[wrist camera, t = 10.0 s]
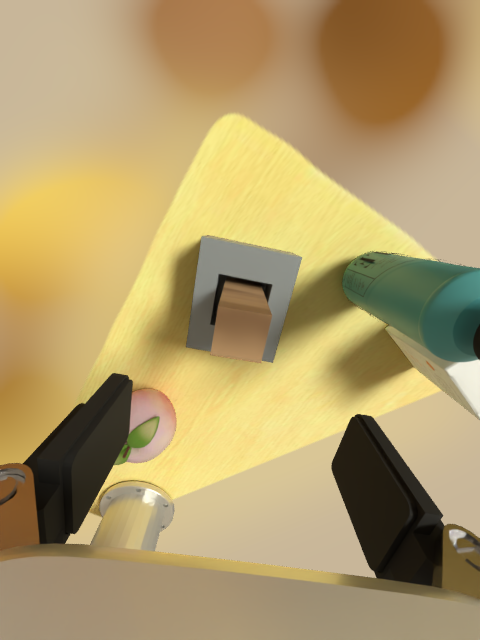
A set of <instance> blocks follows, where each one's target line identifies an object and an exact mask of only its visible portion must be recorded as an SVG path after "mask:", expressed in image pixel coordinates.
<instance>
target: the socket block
mask: <svg viewBox="0 0 480 640" xmlns="http://www.w3.org/2000/svg"><path fill="white" fill-rule="evenodd" d="M301 260H302V257H300V256H298V255H296V254H294V253H290V252H286V251H281V250H276V249H271V248H266V247H262V246H257V245H252V244H247V243H243V242H238V241H233V240H228V239H224V238H219V237H214V236H209V235H206V236H202V237H201V244H200V252H199V259H198V266H197V273H196V280H195V287H194V294H193V301H192V309H191V316H190V323H189V330H188V337H187V344H186V347H188V348H194V349H199V350H205V351H210V352H211V348H212V342H213V335H214V329H215V322H216V316H217V310H218V305H219V301H220V298H221V294H222V291H223V287H224V284H225V280H226V277H232V278H237V279H243V280H248V281H254V282H259V283H260V284H261V287H262V289H263V292H264V295H265V297H266V300H267V303H268V305H269V308H270V311H271V314H272V319H271V323H270V327H269V331H268V336H267V340H266V344H265V348H264V352H263V357H262V361H266V362H272V363H273V360H274V357H275V353H276V350H277V346H278V342H279V339H280V335H281V332H282V328H283V324H284V321H285V317H286V314H287V310H288V306H289V303H290V299H291V296H292V292H293V288H294V285H295V281H296V278H297V274H298V270H299V267H300V263H301Z"/></svg>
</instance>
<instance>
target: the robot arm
mask: <svg viewBox="0 0 480 640" xmlns="http://www.w3.org/2000/svg"><path fill="white" fill-rule="evenodd" d="M132 385H133V381H132V380H129V377H128V376H127V375H122V374H116V373H113V374H112V375H111V376H110V377H109V378H108V379H107V380H106V381H105V382H104V383H103V384H102V386H101V387H100V388H99V389H98V390H97V391H96V392H95V393H94V395H93V396H92V397H91V398H90V399H89V400H88V401H87V402H86V404H83V403H81V404H79V405H77V406H76V407H75V408H74V409H73V410H72V411H71V413H70V414H69V415H68V416H67V417H66V418H65V419H64V420H63V421H62V422H61V423H60V424H59V426H58V427H57V428H56V429H55V430H54V431H53V432H52V433H51V434H50V435H49V436H48V437H47V438H46V439H45V440H44V442H43V443H42V444H41V445H40V446H39V447H38V448H37V449H36V450H35V451H34V452H33V453H32V455H30V457H29V458H28V459H27V460H26V461H25V462H24V463H23V464H20V463H11V464H10V463H9V464H5V465H0V640H480V538H478V537H477V536H476V535H475V534H473V533H472V532H470V531H469V530H467V529H465V528H463V527H461V526H458V525H456V524H447V525H445V526H444V524H443V523H442V521H441V518H442V517H443V515H442V513H441V512H440V510H439V509H438V508H437V506H436V505H435V503H434V502H433V501H432V499H431V498H430V496H429V495H428V494H427V492H426V491H425V489H424V488H423V487H422V485H421V484H420V482H419V481H418V480H417V478H416V477H415V476H414V474H413V473H412V471H411V470H410V469H409V467H408V466H407V465H406V463H405V462H404V460H403V459H402V457H401V456H400V455H399V453H398V452H397V450H396V449H395V448H394V446H393V445H392V443H391V442H390V441H389V439H388V438H387V437H386V435H385V434H384V432H383V431H382V430H381V428H380V427H379V425H378V424H377V423H376V421H375V420H374V418H373V417H371V416H367V415H361V414H357V415H355V417H352V418H351V419H350V422H349V424H348V426H347V429H346V431H345V433H344V436H343V438H342V440H341V443H340V445H339V448H338V450H337V452H336V454H335V457H334V459H333V461H332V472H333V475H334V478H335V480H336V483H337V485H338V488H339V490H340V493H341V495H342V498H343V501H344V503H345V506H346V509H347V511H348V514H349V516H350V519H351V522H352V524H353V526H354V529H355V532H356V535H357V537H358V539H359V542H360V545H361V547H362V550H363V552H364V555H365V557H366V560H367V563H368V565H369V567H370V568H371V569H372V570H373V571H374V572H375V575H376V577H377V578H370V577H362V576H354V575H346V574H338V573H331V572H323V571H315V570H307V569H299V568H291V567H283V566H275V565H266V564H258V563H250V562H241V561H233V560H225V559H216V558H207V557H199V556H190V555H182V554H173V553H164V552H155V548H156V544H157V540H158V537H159V533H160V532H161V531H162V530H164V529H166V528H167V527H168V526H169V524H170V523H171V521H172V519H173V514H174V504H173V502H172V500H171V498H170V497H169V495H168V494H167V493H166V492H165V491H163V490H162V489H160V488H159V487H157V486H154V485H152V484H149V483H146V482H140V481H127V482H122V483H118V484H116V485H114V486H112V487H111V488H109V489H108V490H107V491H106V492H105V493H104V495H103V497H102V499H101V501H100V505H99V509H100V513H101V516H102V517H103V519H102V521H101V523H100V525H99V527H98V529H97V531H96V534H95V535H94V538H93V540H92V542H91V544H90V545H84V544H65V543H66V541H67V539H68V537H69V536H70V534H75V533H76V532H77V531H78V530H79V528H80V526H81V524H82V522H83V521H84V519H85V517H86V515H87V513H88V511H89V510H90V508H91V506H92V504H93V502H94V500H95V499H96V497H97V495H98V493H99V491H100V489H101V487H102V486H103V484H104V482H105V480H106V478H107V476H108V474H109V473H110V471H111V469H112V467H113V465H114V463H115V461H116V460H117V458H118V456H119V454H120V452H121V450H122V448H123V447H124V445H125V443H126V441H127V438H128V435H129V430H130V415H131V400H132Z"/></svg>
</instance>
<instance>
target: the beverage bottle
mask: <svg viewBox="0 0 480 640" xmlns="http://www.w3.org/2000/svg"><path fill="white" fill-rule="evenodd" d="M370 252H371V251H370ZM370 252H369V253H367V252H366V254H363V255H361V256H358V257H357V258H355V259H354V260H353V261H352V262H351V263H350V264H349V265H348V267H347V268H346V270H345V272H344V275H343V279H342V286H343V290H344V293H345V295H346V296H347V298H348V299H349V300H350V301H351V302H353V303H354V304H356V307H357V306H359V309H360V307H361V308H362V309H364V310H365V311H367V314H368V312H369V314H370V316H371V314H372V315H373V316H375V317H377V318H378V319H380V320H382V321H383V322H385V323H386V324H389V325H390V326H391V327H393V328H395V329H397V330H398V331H400V332H401V333H403V334H404V335H406V336H408V337H409V338H411V339H412V340H414V341H415V342H417V343H418V344H420V345H422V346H423V347H425V348H426V349H428V350H429V351H430V352H431V353H432V354H434V355H435V356H437V357H439V358H441V359H443V360H446V361H451V362H470V361H475V360H480V268H473V267H466V266H460V265H453V264H448V263H444V262H438V261H439V260H438V259H436V260H438V261H431V260H425V259H418V258H412V257H405V256H400V255H394V254H395V253H391V254H390V253H389V254H388V253H381V252H383V251H381V252H371V253H370ZM392 254H393V255H392ZM401 255H402V254H401ZM403 255H404V254H403ZM349 300H348V301H349ZM362 309H361V310H362ZM383 324H384V323H383Z"/></svg>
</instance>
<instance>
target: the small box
mask: <svg viewBox="0 0 480 640" xmlns="http://www.w3.org/2000/svg"><path fill="white" fill-rule="evenodd" d="M385 330H386V331H387V332H388V333H389V335H390V336H391V337H392V339H393V340H394V341H395V343H396V344H397V345H398V347H399V348H400V349H401V350H402V352H403V353H404V354H405V356H406V357H407V358H408V360H409V361H410V362H411V364H412V365H413V366H414V368H415V369H417V370H418V371H419V372H420V373H421V374H423V375H424V376H425V377H426V378H428V379H429V380H430V381H431V382H433V383H434V384H435V385H436V386H437V387H439V388H440V389H441V390H442V391H444V392H445V393H446V394H447V395H449V396H450V397H451V398H453V399H454V400H455V401H456V402H458V403H459V404H460V405H461V406H463V407H464V408H465V409H466V410H468V411H469V412H470V413H471V414H473V415H474V416H475V417H476V418H477V419H479V420H480V360H475V361H470V362H451V361H446V360H443V359H441V358H439V357H437V356H435V355H434V354H432V353H431V352H430V351H429V350H428V349H426V348H425V347H423V346H422V345H420V344H418V343H417V342H415V341H414V340H412V339H411V338H409V337H408V336H406V335H404V334H403V333H401V332H400V331H398V330H397V329H395V328H393V327H391V326H390V325H389V326H388V327H386V328H385Z"/></svg>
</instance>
